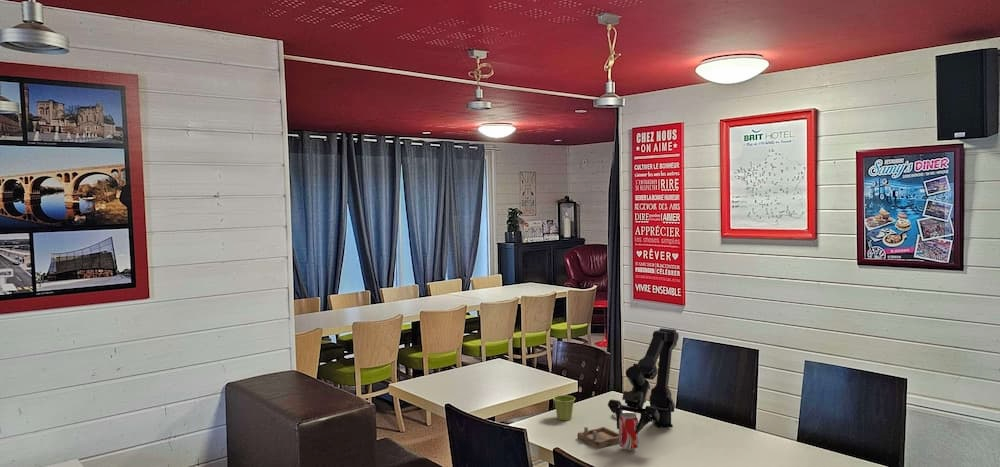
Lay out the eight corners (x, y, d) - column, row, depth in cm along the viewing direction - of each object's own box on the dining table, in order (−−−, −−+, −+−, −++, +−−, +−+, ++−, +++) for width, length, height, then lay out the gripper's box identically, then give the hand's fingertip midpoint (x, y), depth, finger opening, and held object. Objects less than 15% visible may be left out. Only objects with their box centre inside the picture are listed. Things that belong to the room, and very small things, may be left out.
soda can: (633, 452, 228) (633, 419, 228) (615, 448, 233) (615, 416, 232) (641, 446, 234) (641, 414, 233) (624, 442, 238) (624, 410, 238)
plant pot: (549, 416, 272) (549, 396, 272) (568, 413, 276) (567, 393, 276) (560, 423, 264) (560, 402, 263) (579, 420, 268) (579, 399, 267)
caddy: (603, 432, 253) (603, 419, 253) (624, 441, 242) (624, 428, 242) (577, 438, 246) (577, 425, 246) (597, 448, 236) (597, 435, 236)
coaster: (636, 421, 265) (636, 413, 265) (612, 420, 267) (612, 412, 267) (636, 414, 275) (636, 406, 275) (613, 412, 277) (613, 404, 277)
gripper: (609, 378, 241) (596, 415, 232) (656, 385, 230) (645, 424, 222) (618, 393, 248) (606, 429, 239) (664, 401, 237) (653, 439, 228)
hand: (627, 430), depth 232 cm, fingers closed on soda can, 7 cm apart
